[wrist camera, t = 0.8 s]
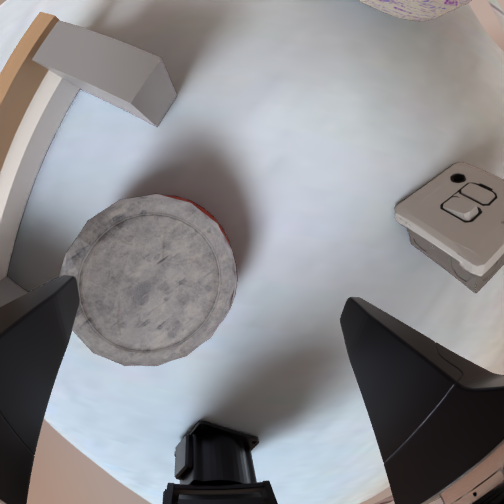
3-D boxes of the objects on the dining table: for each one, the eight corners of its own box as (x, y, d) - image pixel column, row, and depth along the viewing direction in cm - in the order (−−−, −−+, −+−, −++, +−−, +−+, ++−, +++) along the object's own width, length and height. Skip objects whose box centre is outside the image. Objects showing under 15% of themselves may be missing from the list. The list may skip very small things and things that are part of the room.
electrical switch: (456, 159, 21) (539, 176, 13) (468, 208, 23) (542, 236, 15) (386, 209, 22) (475, 246, 13) (404, 260, 24) (480, 310, 15)
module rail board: (181, 89, 18) (167, 49, 11) (61, 345, 21) (26, 395, 14) (74, 43, 15) (33, 5, 8) (-20, 286, 18) (-66, 317, 12)
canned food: (151, 191, 23) (161, 120, 14) (244, 269, 25) (306, 243, 16) (60, 297, 19) (8, 286, 10) (161, 381, 21) (176, 427, 12)
